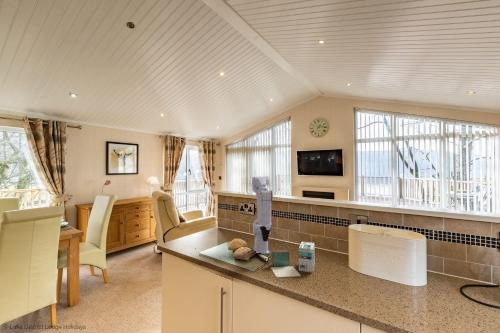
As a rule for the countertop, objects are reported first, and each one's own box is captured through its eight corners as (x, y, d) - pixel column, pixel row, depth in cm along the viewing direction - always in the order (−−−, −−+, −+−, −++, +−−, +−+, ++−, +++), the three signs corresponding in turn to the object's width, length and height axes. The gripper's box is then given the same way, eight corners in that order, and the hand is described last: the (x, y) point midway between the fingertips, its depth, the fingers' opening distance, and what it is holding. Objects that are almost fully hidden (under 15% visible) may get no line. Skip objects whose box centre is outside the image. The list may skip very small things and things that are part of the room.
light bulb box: (313, 273, 109) (313, 249, 109) (298, 270, 111) (298, 247, 111) (314, 264, 119) (315, 242, 119) (301, 262, 121) (301, 241, 121)
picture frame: (271, 264, 118) (271, 250, 118) (287, 264, 119) (287, 249, 119) (273, 267, 115) (273, 252, 115) (289, 266, 116) (289, 251, 116)
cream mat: (270, 268, 114) (270, 267, 114) (292, 266, 116) (292, 266, 116) (276, 277, 104) (276, 276, 104) (300, 276, 106) (300, 275, 106)
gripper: (255, 211, 129) (255, 237, 128) (260, 216, 114) (260, 245, 114) (268, 211, 130) (268, 237, 129) (274, 216, 115) (274, 245, 115)
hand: (265, 241), depth 122 cm, fingers closed
